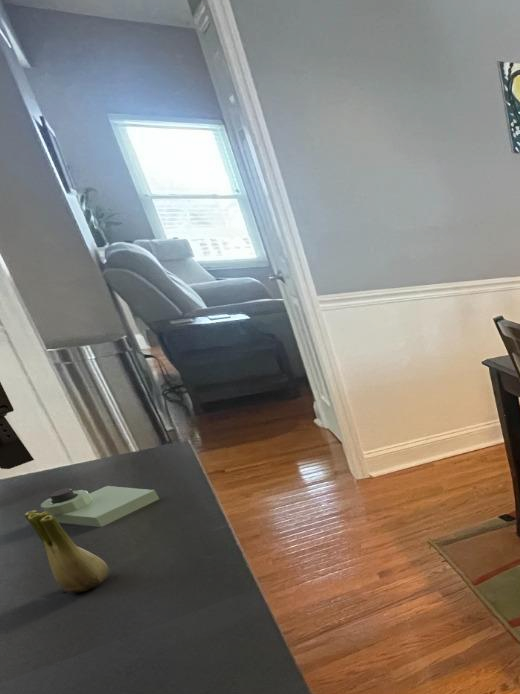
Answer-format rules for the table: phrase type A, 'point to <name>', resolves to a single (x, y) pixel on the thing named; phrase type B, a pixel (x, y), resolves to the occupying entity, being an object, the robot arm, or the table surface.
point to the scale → (99, 505)
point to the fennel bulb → (67, 556)
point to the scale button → (62, 495)
